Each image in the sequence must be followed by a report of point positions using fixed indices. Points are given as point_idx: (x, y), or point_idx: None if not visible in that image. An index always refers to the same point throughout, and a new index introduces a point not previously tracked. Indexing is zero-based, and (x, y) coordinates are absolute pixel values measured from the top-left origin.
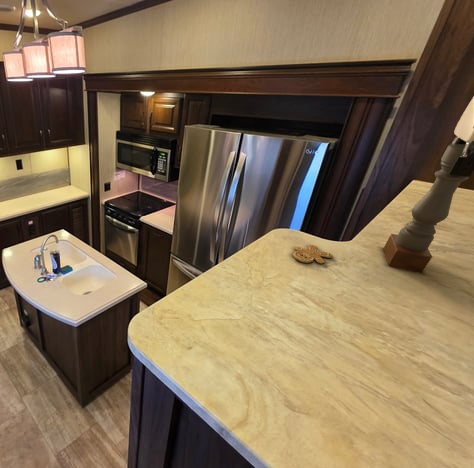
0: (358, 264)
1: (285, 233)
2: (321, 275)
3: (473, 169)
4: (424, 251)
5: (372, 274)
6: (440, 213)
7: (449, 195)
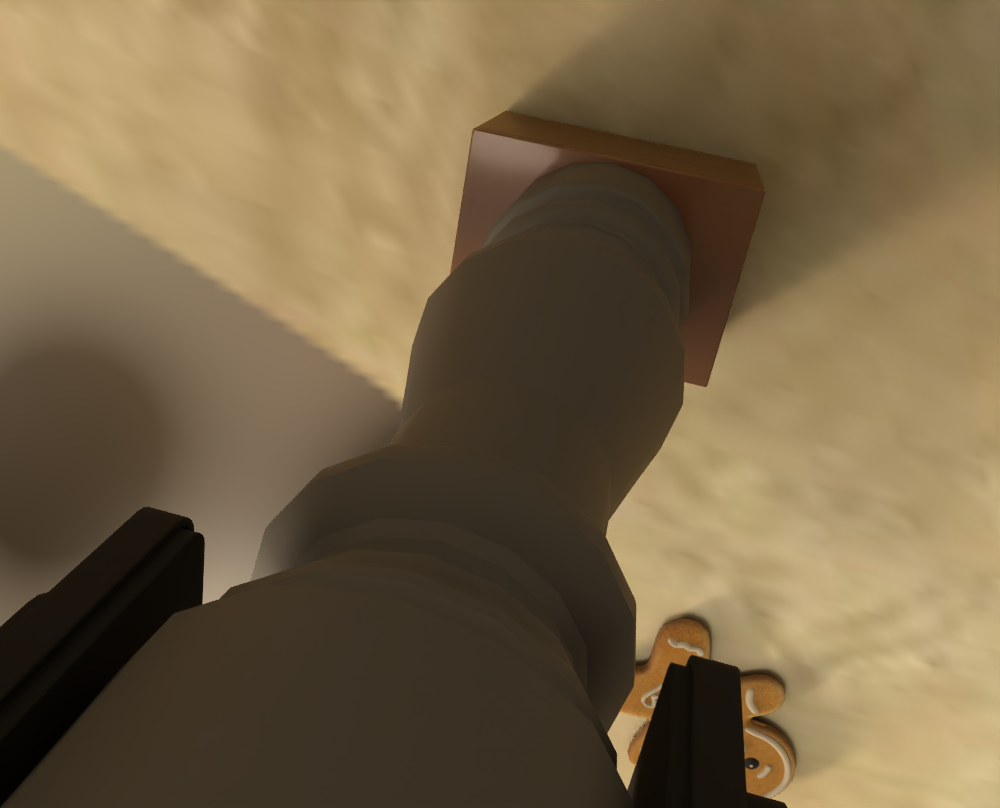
0: (734, 500)
1: None
2: (904, 718)
3: (738, 769)
4: (687, 210)
5: (840, 466)
6: (676, 380)
7: (607, 453)
